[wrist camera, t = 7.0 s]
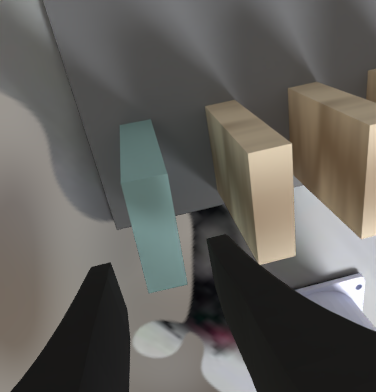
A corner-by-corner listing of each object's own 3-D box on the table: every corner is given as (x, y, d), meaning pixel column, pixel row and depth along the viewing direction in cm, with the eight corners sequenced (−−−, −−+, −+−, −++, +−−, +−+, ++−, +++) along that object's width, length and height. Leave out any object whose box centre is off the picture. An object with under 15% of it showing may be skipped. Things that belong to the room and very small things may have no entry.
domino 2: (243, 184, 21) (295, 255, 15) (217, 190, 21) (258, 265, 15) (234, 99, 19) (292, 143, 13) (204, 106, 19) (247, 153, 12)
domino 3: (316, 167, 21) (396, 230, 15) (290, 173, 21) (361, 239, 15) (316, 81, 19) (411, 115, 13) (287, 87, 19) (369, 125, 13)
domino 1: (166, 203, 21) (187, 284, 15) (139, 209, 21) (148, 293, 14) (150, 119, 18) (167, 173, 12) (119, 125, 18) (120, 183, 12)
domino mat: (457, 144, 23) (463, 146, 23) (116, 226, 21) (116, 230, 21) (505, -90, 17) (513, -92, 17) (43, -2, 16) (42, -2, 15)
